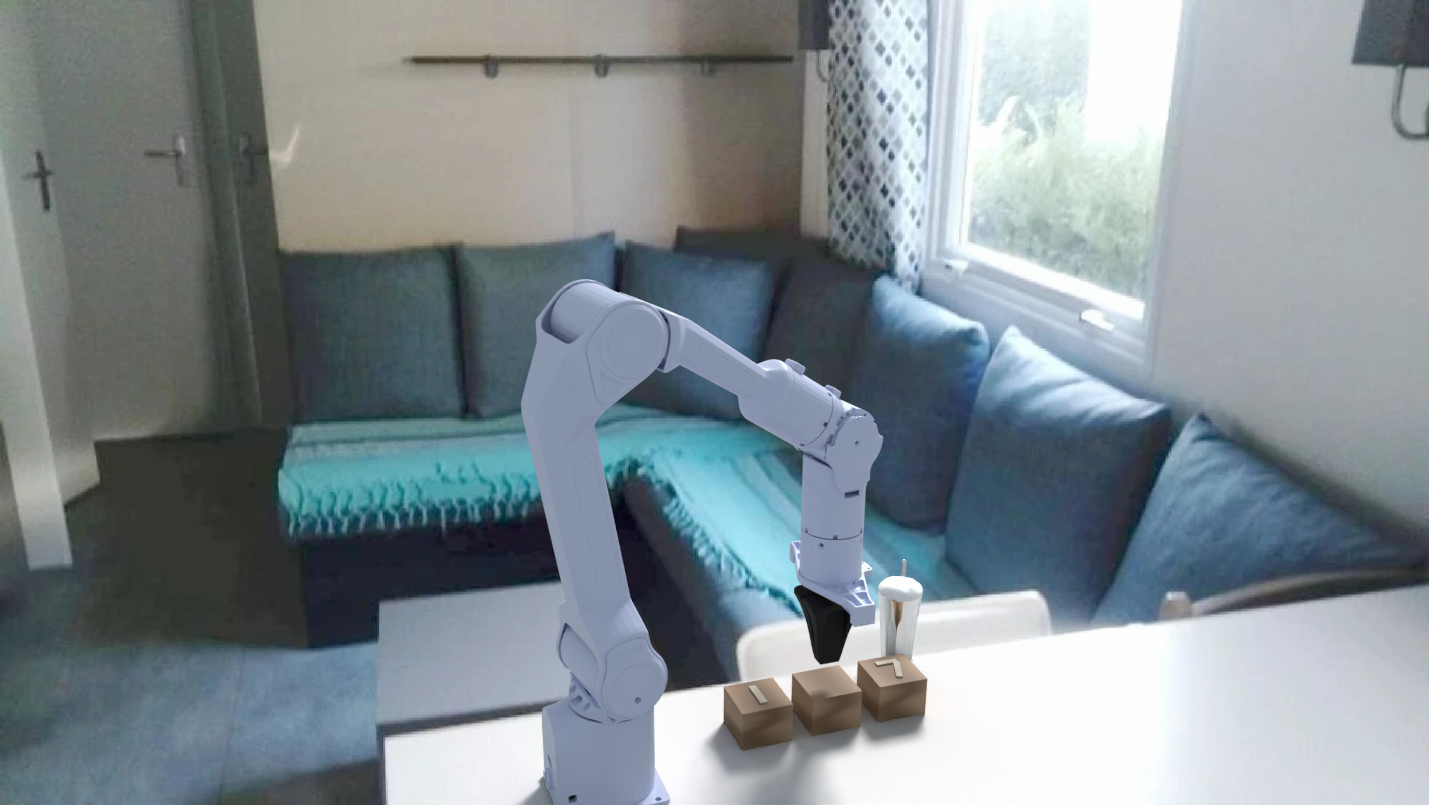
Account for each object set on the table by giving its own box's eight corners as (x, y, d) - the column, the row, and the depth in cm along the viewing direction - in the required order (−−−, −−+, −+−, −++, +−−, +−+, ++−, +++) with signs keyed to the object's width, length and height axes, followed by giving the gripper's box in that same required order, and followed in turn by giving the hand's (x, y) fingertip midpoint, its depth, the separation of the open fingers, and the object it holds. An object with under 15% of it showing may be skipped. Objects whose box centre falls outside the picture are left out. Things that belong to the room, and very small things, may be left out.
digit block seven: (878, 724, 110) (880, 685, 109) (855, 696, 114) (857, 659, 113) (924, 715, 111) (927, 677, 110) (901, 688, 116) (903, 652, 115)
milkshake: (921, 647, 124) (926, 562, 120) (915, 672, 119) (921, 584, 116) (878, 641, 125) (883, 557, 122) (871, 665, 120) (876, 578, 117)
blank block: (812, 737, 108) (813, 700, 106) (791, 709, 112) (792, 673, 111) (860, 727, 109) (862, 691, 108) (837, 700, 114) (839, 664, 113)
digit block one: (742, 752, 105) (742, 712, 104) (723, 723, 110) (723, 685, 109) (792, 742, 107) (793, 702, 106) (771, 713, 111) (772, 676, 110)
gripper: (909, 553, 99) (901, 691, 103) (837, 493, 112) (832, 618, 116) (835, 564, 97) (829, 705, 101) (771, 502, 110) (768, 629, 114)
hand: (826, 659), depth 109 cm, fingers closed
